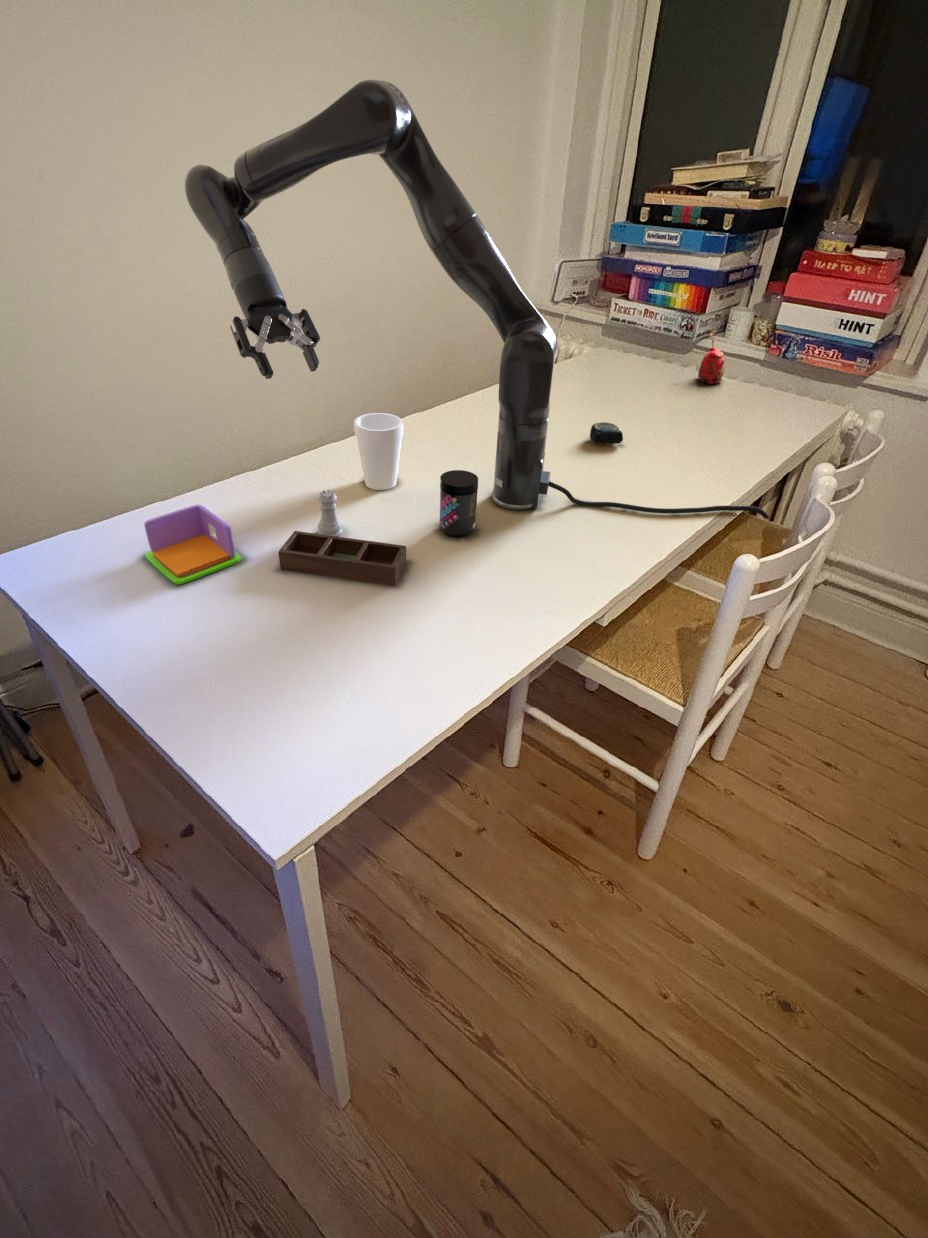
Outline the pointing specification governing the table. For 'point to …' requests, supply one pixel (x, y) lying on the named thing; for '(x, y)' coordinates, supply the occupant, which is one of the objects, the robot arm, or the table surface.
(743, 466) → the table surface
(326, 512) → the rook chess piece
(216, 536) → the toy room diorama
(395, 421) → the foam cup
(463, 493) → the supplement container
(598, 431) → the tape measure
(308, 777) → the table surface
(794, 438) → the table surface
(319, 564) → the compartment tray
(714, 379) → the red clay folk toy
